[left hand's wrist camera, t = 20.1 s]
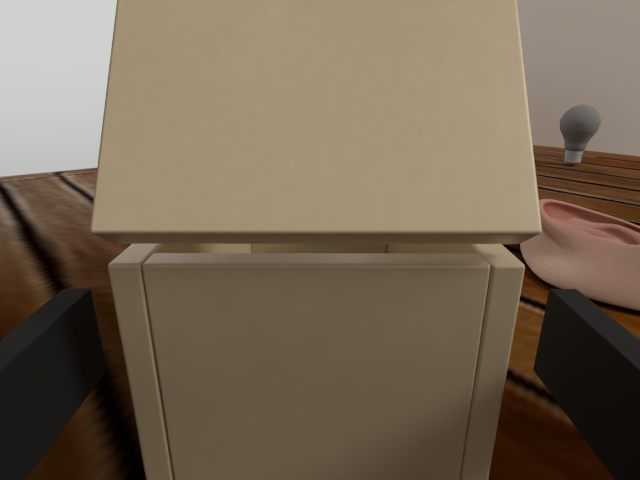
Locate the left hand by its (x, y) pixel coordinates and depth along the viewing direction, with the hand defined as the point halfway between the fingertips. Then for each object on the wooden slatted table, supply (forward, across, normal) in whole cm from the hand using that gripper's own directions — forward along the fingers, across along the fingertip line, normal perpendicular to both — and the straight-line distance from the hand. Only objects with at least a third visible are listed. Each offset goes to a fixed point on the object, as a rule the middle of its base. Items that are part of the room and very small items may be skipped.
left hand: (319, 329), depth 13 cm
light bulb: (+66, +44, -7) cm, 80 cm away
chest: (+6, 0, -7) cm, 9 cm away
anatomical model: (+20, +22, -7) cm, 30 cm away
